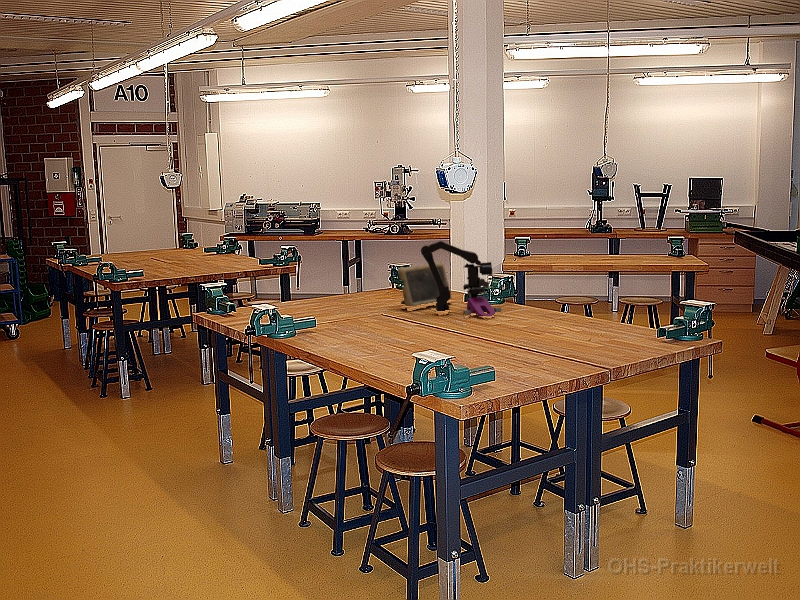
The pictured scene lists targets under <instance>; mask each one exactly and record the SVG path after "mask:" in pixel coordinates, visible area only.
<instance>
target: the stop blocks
mask: <svg viewBox="0 0 800 600" xmlns="http://www.w3.org/2000/svg"><path fill="white" fill-rule="evenodd" d="M493 309H494V311H495V312H501V313H502V307H500V306H496V307H493ZM462 313H463V314H465V315H470V314H471V311H470V310H467V309H463V312H462ZM463 314H462V315H463Z"/></svg>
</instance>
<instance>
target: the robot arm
mask: <svg viewBox="0 0 800 600" xmlns="http://www.w3.org/2000/svg"><path fill="white" fill-rule="evenodd" d="M441 249H442V250H444V251H445V252H448V253H451V254H454V255H457V256H458V257H460V258H462V259H464V261H467V262H466V263H465V264H464V266H463V268H464V269H465V268H466V269H467V277H466V280H467V283H465V284H464V285H463V287H462V288H463V290H465V291H466V290H467V291H466V293H467V294H468V296H469V298H474V297H479V294H480V293H485V288H486V289H489V287H490V282H488V281H486V279H484V278H481V277H479V274H481V275H482V276H489V275H490V276H492V275H493V268H492V267H493V266H492V262H491V261H488V262H482V261H481V260H480V259H479V256H478V254H477V253H476V252H475V251H471V250H470V251H469V250H465V249H461V248H459V247H457V246H455V245H452V244H449V243H448V242H445V241H443V240H438V241H436V242H433V243H432V244H429V245H428V244H424V245H423V246H422V247H421V248H420V254H421V255H422V257H423V258H424V260H425V261H426V263H427V264H428V265H429V267H430V269H431V272H432V274H433V276H434V279H435V281H436V284H437V286H438V290H439V296H438V297H437V298H436V302H437V303H436V306H435V311H436V310H437V311H445V310H449V311H450V305H449V304H448V303H447V301H448V300H449V299H450V297H451V298H452V291H451V289H450V286H449V287H448V285H447V286H445V284H444V283H443V281H442V278H441V276H440V274H439V271H438V269H437V266H436V264H435V263H436V262H435V259H434V255H433V254H434V252H437V251H438V250H441ZM450 293H451V295H450Z"/></svg>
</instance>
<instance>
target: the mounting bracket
mask: <svg viewBox="0 0 800 600" xmlns="http://www.w3.org/2000/svg"><path fill="white" fill-rule="evenodd" d="M466 310H470V311H471V313H476V316H478V315H479V316H492V315H494V314H495V311H494V307H493V306H492V305H491V303H489V301H488V300H487V298H486V297H485V295H483V296H477V297H474V298H470V297H468V298H467V302H466ZM484 312H487V313H488V314H485V313H484ZM479 316H478V317H479ZM494 316H495V315H494Z"/></svg>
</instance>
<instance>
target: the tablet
mask: <svg viewBox="0 0 800 600" xmlns="http://www.w3.org/2000/svg"><path fill="white" fill-rule="evenodd" d="M435 264H436V266H437V269H438V271H439V274H440V276H441V278H442V281H443V283H444V284H445V286H447V285H448V287H449V288H450V286H449V281H448V278H447V275H446V270H445V269H446V268H445V266H444V264H443V263H442V261H436V262H435ZM397 273H398V275H399V279H400V280H401V281H402V284H403V287H402V297H403V300H401V301H400V305H401V304H405V305H406V306H417V305H421V304H428V303H433V302H436V298H437V297H438V296H439V290H438V286H437V284H436V281H435V279H434V276H433V274H432V272H431V269H430V267H429V265H428V263H427V264H424V265H415V266H407V267H406V266H405V267H404V266H400V267H399V268H398V269H397ZM450 295H451V297H450V299H452V292H451V293H450ZM452 300H453V299H452Z"/></svg>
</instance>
